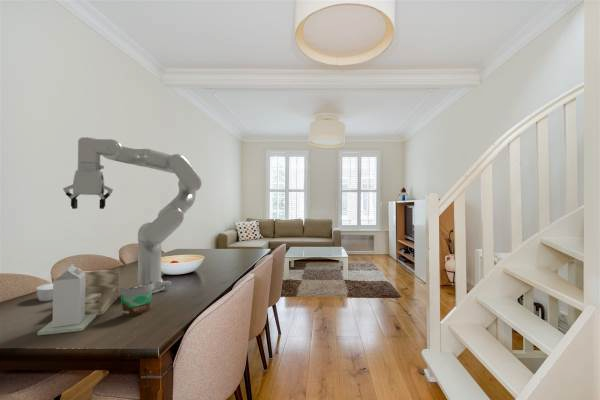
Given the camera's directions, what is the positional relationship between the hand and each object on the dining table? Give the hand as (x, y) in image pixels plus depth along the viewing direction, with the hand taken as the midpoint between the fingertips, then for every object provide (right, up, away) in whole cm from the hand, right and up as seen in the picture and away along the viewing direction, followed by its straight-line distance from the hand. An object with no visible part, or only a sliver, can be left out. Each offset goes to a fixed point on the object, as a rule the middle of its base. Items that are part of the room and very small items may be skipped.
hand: (88, 208), depth 119 cm
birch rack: (+6, -38, -8) cm, 40 cm away
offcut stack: (+7, -39, -12) cm, 41 cm away
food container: (+28, -39, -12) cm, 50 cm away
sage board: (+11, -38, -24) cm, 46 cm away
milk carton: (+11, -38, -24) cm, 46 cm away
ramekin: (-17, -39, +3) cm, 42 cm away
